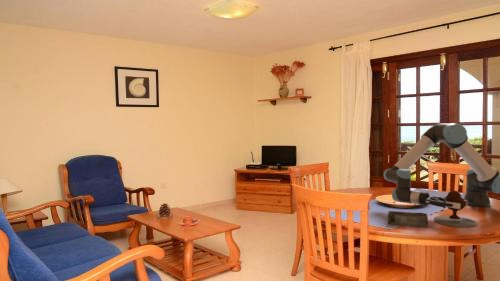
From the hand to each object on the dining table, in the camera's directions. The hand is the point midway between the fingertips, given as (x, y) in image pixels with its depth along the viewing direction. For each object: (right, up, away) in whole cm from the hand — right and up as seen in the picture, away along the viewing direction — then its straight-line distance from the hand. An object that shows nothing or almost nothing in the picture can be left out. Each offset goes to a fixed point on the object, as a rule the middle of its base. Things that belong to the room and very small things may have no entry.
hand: (463, 204), depth 192 cm
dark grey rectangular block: (-30, -11, 0) cm, 32 cm away
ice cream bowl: (-3, -8, +3) cm, 9 cm away
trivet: (-3, -10, +3) cm, 11 cm away
